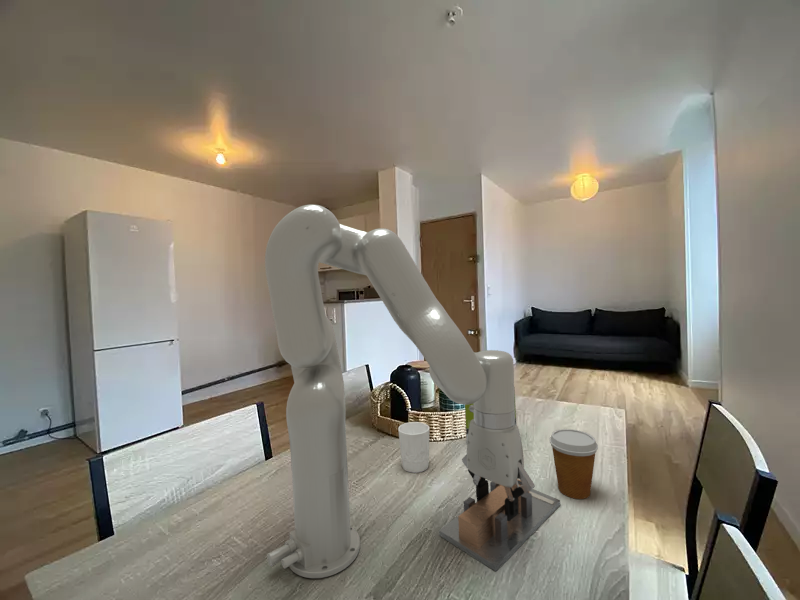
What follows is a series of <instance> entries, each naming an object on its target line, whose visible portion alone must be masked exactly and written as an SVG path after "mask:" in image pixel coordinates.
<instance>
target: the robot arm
mask: <svg viewBox="0 0 800 600" xmlns="http://www.w3.org/2000/svg"><path fill="white" fill-rule="evenodd" d="M406 247H407V246H405V244H404V242H403V241H402V239H401V238H400V237H399V235H397V234H396V232H394V231H393V230H390V229H388V228H384V227H383V228H375V229H372V230H370V231H365V230H361V229H357V228H355V227H350V226H347V225H345V224H342V223H340V222H339V220H338V219H337V217H336V215H335V214H334V213H333V212H332V211H331V210H329V209H328V208H326V207H324V206H322V205H321V204H320V205H319V204H312V203H311V204H305V205H301V206H298V207H297V208H295V209H293V210H292V211H290V212H288V213H286V215H285V216H283V217H282V219H280V220H279V222H278V223H277V224H276V225H275V226H274V228H273V229H272V232H271V233H270V236H269V238H268V241H267V243H266V246H265V254H264V268H265V277H266V282H267V287H268V293H269V299H270V305H271V312H272V316H273V321H274V327H275V332H276V340H277V346H278V351H279V353H280V355H281V356H282V359H284V360H285V362H286V363H288V365H290V370H291V373H292V377H293V382H294V383H293V385H292V387H291V389H290V391H289V394H288V397H287V401H286V409H285V410H286V411H285V412H286V413H285V414H286V415H285V417H286V425H287V431H288V441H289V449H290V463H291V464H290V466H291V480H292V481H291V482H292V498H293V499H292V500H293V515H294V517H293V518H294V520H293V521H294V529H293V530H291V531H289V539H288V540H286V541H285V542H284V545H282V546H280V547H277V548H275V549H273V550H272V551H270V552H269V553H268V552H267V553H266V554H267V555H266V558H267V563H268V565H269V566H270V567H273V566H274V565H277V563H280V562H281V566H282V568H283V569H287V568H288V567H289V569H290V570H291V571H292V572H293V573H294V574H295V575H298V576H300V577H304V578H308V579H323V578H327V577H328V578H329V577H330V576H331V577H332V576H333V575H336V574H338V573H340V572H342V571H344V570H345V569H347V567H349V566H350V565H351V564H352V563H353V562H354V560H356V559H357V556H358V555H359V553H360V548H361V538H360V534H359V532H358V530H357V529H355V527H353V526H352V525H351V514H350V513H351V511H350V493H349V492H350V491H349V471H348V470H349V469H348V466H349V465H348V451H347V450H348V449H347V433H346V432H347V430H346V427H347V426H346V397H345V396H346V395H345V393H346V392H345V382H344V376H343V371H342V366H341V362H340V356H339V350H338V346H337V340H336V333H335V330H334V326H333V323H332V322H331V320H330V319H329V318H328V317H327V314H326V310H325V306H324V301H323V294H322V287H321V282H320V277H319V265H320V263H321V264H325V265H328V266H331V267H335V268H338V269H342V270H345V271H348V272H351V273H355V274H358V275H364V276H366V277H367V278H368V280H369V282H370V283H371V285H372V286H373V288H374V290H375V292H376V293H377V295H378V296H379V298H380V300H381V302H383V304H384V307H385V308H386V309H387V311H388V313H389V314H390V316H391V318H392V320H393V321H394V322H395V324H396V325H397V327H399V329H400V331H402V332H403V334H404V335H405V336H406V337H407V338H408V339H409V340H410V341H411V342H412V343H413V345H414V346H415V347H416V348H417V350H418V351H419V353H421V356H423V358H424V359H425V361H426V362H427V364H428V366H429V367H428V368H429V369H428V371H429V377H430V379H431V380H432V383H434V384H435V386H437V387H438V389H439V390H441V391H442V392H443V394H444V395H446V397H448V399H449V400H451V401H452V402H454V403H455V404H459V405H464V406H465V405H468V404H472V403H474V405H471V406H470V411H471V412H473V413H474V419H473V420H471V422H470V426H469V431H468V439H466V455H464V456H463V457H462V459H461V462H462V463H463V465H464V466H465V468H466V469H467V470H468V473H469V475H470V476H471V478H472V483H473V484H474V486H475V497H476V502H478V501H479V500H481V499H482V498H483V497H485V496H486V495H487V494H489V492H490V485H489V481H490V482H494V483H497V484H499V485H501V486H504V488H505V491H506V494H507V498H506V499H505V515H507V521H510V520H511V519H513V518H514V517H515V516H516V515H517V514H518V497H520V496H521V495H522V494H524V493H527V492H529V491H530V490H532V489H534V488H535V486H536V484H535V483H534V481H533V480H532V478H531V476H530V475H529V474H528V472H527V471H526V469H525V461H524V460H525V459H524V450H523V449H524V448H523V443H522V438H521V434H520V430H519V429H520V428H519V426H516V425H517V424H516V425H515V406H516V400H515V401H514V387H515V370H514V369H515V368H514V366H515V365H514V364H515V363H514V358H513V356H512V354H510V353H509V352H507V351H503V350H498V349H497V350H495V349H490V350H489V349H488V350H482V351H478V352H474V350H473V348H472V347H471V345H470V343H469V342H468V340H467V339H466V337H465V336H464V334H463V332H462V331H461V330H460V328H459V326H457V324H456V323H455V322H454V320H453V318H451V317H450V315H449V314H448V312H447V311H446V309H445V308H444V306H443V305H442V304H441V302H440V301H439V300H438V299H437V298H436V295H435V294H434V293H433V291H432V289H431V287H430V286H429V284H428V283H427V281H426V279H425V277H424V276H423V274H422V272H421V271H420V269H419V268H418V266H417V265H416V263H415V261H414V259H413V257H412V255H411V254H410V252H409V250H408V249H407V248H406ZM517 479H519V480H521V482H522V484H523V485H521V486H519V484H518V481H517ZM512 488H513V490H512Z"/></svg>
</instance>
